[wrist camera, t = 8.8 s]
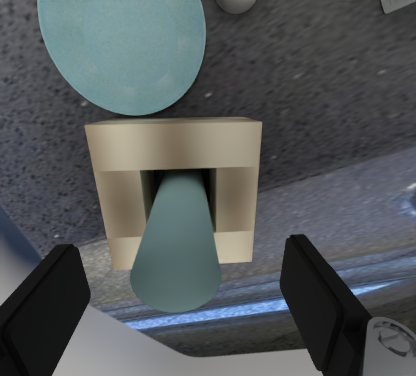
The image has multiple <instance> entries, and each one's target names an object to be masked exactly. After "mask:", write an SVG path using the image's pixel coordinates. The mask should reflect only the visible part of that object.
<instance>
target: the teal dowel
mask: <svg viewBox="0 0 416 376" xmlns="http://www.w3.org/2000/svg"><path fill="white" fill-rule="evenodd" d="M220 281H221V270H220V265H219V260H218V255H217V250H216V244H215V239H214V234H213V229H212V223H211V218H210V213H209V208H208V202H207V197H206V192H205V187H204V181H203V176H202V172H201V170H200V168H191V169H165V171H164V174H163V177H162V180H161V183H160V186H159V189H158V192H157V195H156V198H155V201H154V204H153V207H152V210H151V213H150V216H149V219H148V222H147V225H146V228H145V231H144V234H143V237H142V240H141V243H140V245H139V248H138V251H137V254H136V257H135V260H134V263H133V266H132V269H131V274H130V282H131V286H132V289H133V291H134V293H135V294H136V296H137V297H138V298H139V299H140V300H141V301H142V302H143V303H145V304H146V305H148V306H150V307H152V308H154V309H156V310H160V311H164V312H185V311H189V310H192V309H195V308H198V307H200V306H202V305H203V304H205V303H206V302H208V301H209V300H210V299H211V298H212V297H213V296H214V294H215V293H216V291H217V290H218V288H219V285H220Z"/></svg>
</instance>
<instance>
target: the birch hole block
mask: <svg viewBox="0 0 416 376" xmlns="http://www.w3.org/2000/svg"><path fill="white" fill-rule="evenodd" d="M84 126H85V131H86V136H87V141H88V146H89V151H90V156H91V161H92V166H93V171H94V175H95V180H96V185H97V190H98V195H99V200H100V205H101V210H102V215H103V220H104V225H105V230H106V235H107V240H108V244H109V249H110V254H111V259H112V264H113V269H114V270H127V269H132V266H133V263H134V260H135V257H136V254H137V251H138V248H139V245H140V243H141V240H142V237H143V234H144V231H145V228H146V225H147V222H148V219H149V216H150V213H151V210H152V207H153V204H154V201H155V198H156V187H155V177H154V170H160V169H191V168H210V202H208V208H209V213H210V218H211V223H212V229H213V234H214V239H215V244H216V250H217V255H218V260H219V264H220V263H236V262H251V261H252V251H253V238H254V225H255V211H256V198H257V185H258V172H259V159H260V146H261V133H262V122H260V121H257V120H253V119H250V118H246V117H180V118H114V119H108V120H104V121H100V122H96V123H91V124H87V125H84Z"/></svg>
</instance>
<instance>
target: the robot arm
mask: <svg viewBox="0 0 416 376" xmlns="http://www.w3.org/2000/svg"><path fill="white" fill-rule="evenodd" d="M280 289H281V292H282V294H283V296H284V299H285V301H286V303H287V305H288V307H289V310H290V312H291V314H292V316H293V319H294V321H295V323H296V325H297V327H298V330H299V332H300V334H301V336H302V339H303V341H304V343H305V345H306V347H307V350H308V352H309V354H310V356H311V359H312V361H313V363H314V365H315V367H316V369H317V370H318V371H322V374H323V376H416V335H415V334H414V333H413V332H412V331H411V330H409V329H408V328H407V327H405V326H404V325H402V324H400V323H398V322H396V321H394V320H391V319H388V318H384V317H375V318H372V316H371V315H370V314H369V313H368V311H367V310H366V309H365V308H364V306H363V305H362V304H361V303H360V301H359V300H358V299H357V298H356V297H355V295H354V294H353V293H352V292H351V290H350V289H349V288H348V287H347V285H346V284H345V283H344V282H343V280H342V279H341V278H340V277H339V275H338V274H337V273H336V272H335V271H334V269H333V268H332V267H331V266H330V265H329V264H328V263H327V262H326V261H325V259H324V258H323V257H322V256H321V254H320V253H319V252H318V251H317V249H316V248H315V247H314V246H313V244H312V243H311V242H310V241H309V239H308V238H307V237H306V236H305V235H304V234H298V235H291V236H290V238H287V239H286V244H285V251H284V257H283V264H282V270H281V277H280ZM90 297H91V293H90V289H89V285H88V282H87V278H86V274H85V271H84V267H83V264H82V260H81V257H80V253H79V250H78V248H77V247H74V245H73V244H60V245H56V246H55V247H54V248H53V249H52V250H51V252H50V253H49V254H48V255H47V256H46V257H45V258H44V259H43V260H42V261H41V262H40V264H39V265H38V266H37V267H36V268H35V269H34V270H33V271H32V272H31V273H30V275H29V276H28V277H27V278H26V279H25V280H24V281H23V282H22V283H21V284H20V285H19V287H18V288H17V289H16V290H15V291H14V292H13V293H12V294H11V295H10V296H9V297H8V298H7V300H6V301H5V302H4V303H3V304H2V305H1V306H0V376H52V374H53V372H54V370H55V368H56V366H57V364H58V362H59V360H60V358H61V356H62V354H63V352H64V350H65V348H66V346H67V345H68V343H69V340H70V339H71V336H72V335H73V333H74V331H75V329H76V327H77V325H78V322H79V321H80V319H81V317H82V315H83V313H84V311H85V309H86V307H87V305H88V303H89V301H90Z"/></svg>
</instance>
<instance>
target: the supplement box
mask: <svg viewBox="0 0 416 376" xmlns="http://www.w3.org/2000/svg"><path fill="white" fill-rule="evenodd" d="M413 2H416V0H381V3H382V7H383V10H384V12H385V13H386V14H388V13H390V12H393V11H395V10H397V9H400V8H402V7H404V6H407V5H409V4H411V3H413Z"/></svg>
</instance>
